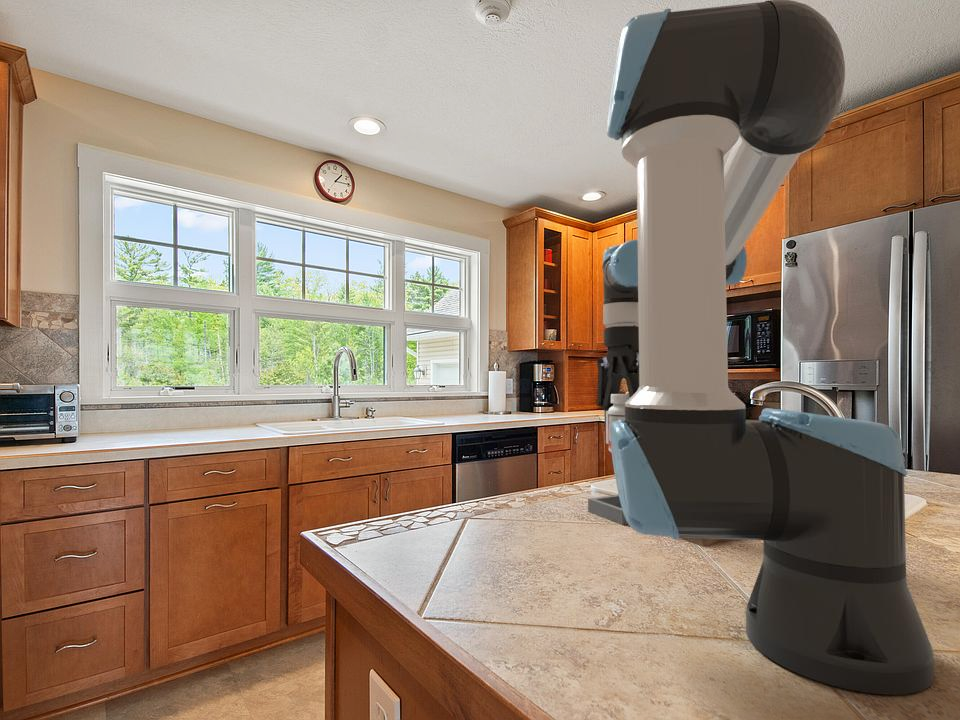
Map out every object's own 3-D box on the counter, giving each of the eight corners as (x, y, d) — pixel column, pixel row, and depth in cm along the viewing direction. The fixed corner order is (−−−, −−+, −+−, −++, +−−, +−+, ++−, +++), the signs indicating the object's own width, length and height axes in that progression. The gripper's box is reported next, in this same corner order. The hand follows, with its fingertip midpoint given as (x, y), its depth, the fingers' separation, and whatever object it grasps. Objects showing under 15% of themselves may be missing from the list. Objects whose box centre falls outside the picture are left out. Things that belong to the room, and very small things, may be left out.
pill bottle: (620, 449, 104) (620, 393, 105) (647, 452, 100) (647, 394, 100) (601, 452, 101) (601, 394, 101) (628, 456, 96) (628, 395, 96)
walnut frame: (702, 545, 81) (702, 538, 81) (650, 527, 91) (650, 520, 91) (749, 536, 86) (749, 529, 86) (696, 519, 96) (696, 513, 96)
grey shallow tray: (622, 524, 93) (622, 510, 93) (588, 511, 102) (588, 498, 102) (702, 511, 102) (701, 498, 102) (663, 500, 111) (663, 488, 111)
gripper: (675, 323, 94) (676, 450, 93) (606, 330, 111) (607, 438, 110) (643, 321, 90) (645, 453, 90) (577, 329, 108) (578, 440, 107)
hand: (624, 445), depth 100 cm, fingers closed on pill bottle, 6 cm apart
